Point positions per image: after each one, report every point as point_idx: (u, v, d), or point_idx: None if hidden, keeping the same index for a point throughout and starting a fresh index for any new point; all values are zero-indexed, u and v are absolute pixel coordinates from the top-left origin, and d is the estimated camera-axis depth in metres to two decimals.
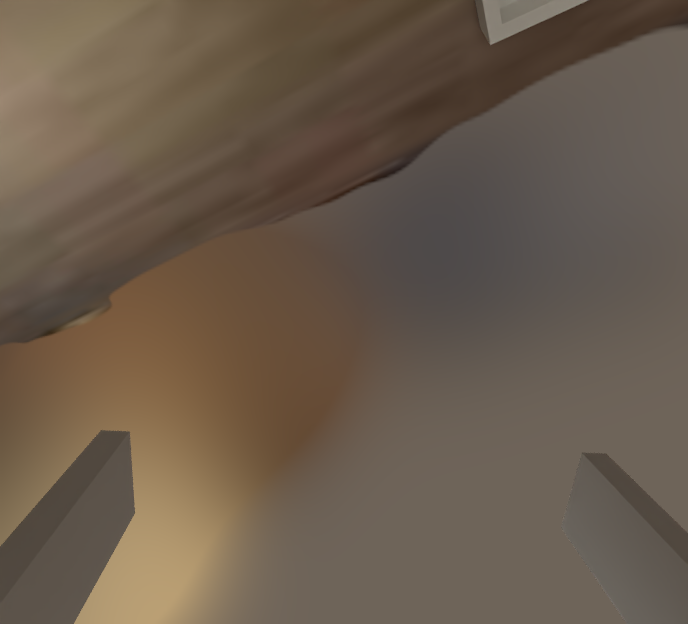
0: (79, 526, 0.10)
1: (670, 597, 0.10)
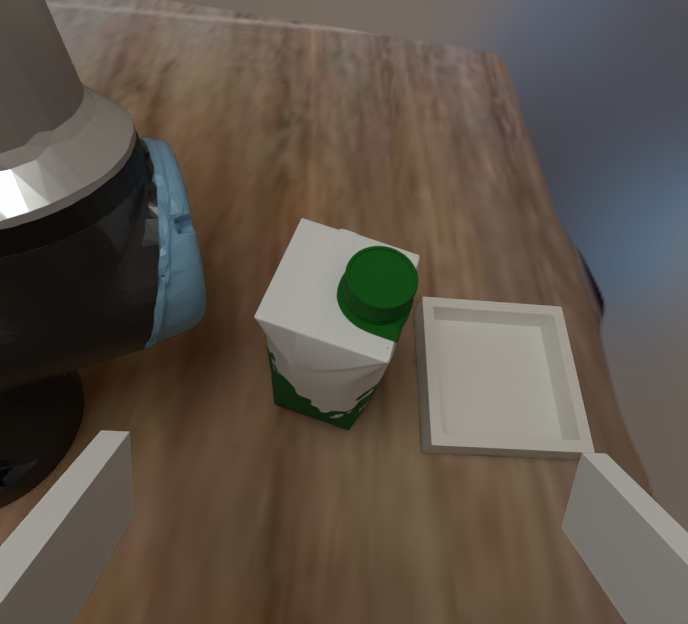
0: (79, 526, 0.10)
1: (670, 597, 0.10)
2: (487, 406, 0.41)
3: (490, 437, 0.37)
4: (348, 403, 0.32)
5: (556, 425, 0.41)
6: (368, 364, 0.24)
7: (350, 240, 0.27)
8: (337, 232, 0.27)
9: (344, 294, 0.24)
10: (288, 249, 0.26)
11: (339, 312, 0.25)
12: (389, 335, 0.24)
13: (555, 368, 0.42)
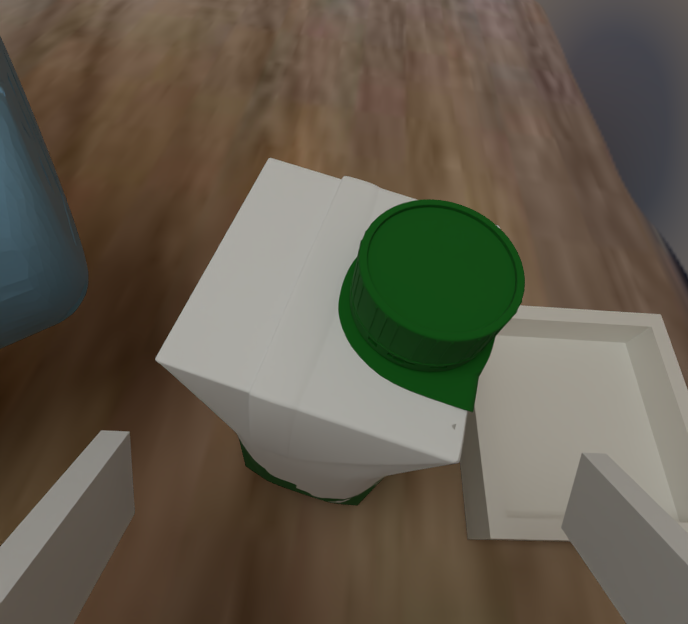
0: (79, 526, 0.10)
1: (670, 597, 0.10)
2: (561, 463, 0.28)
3: None
4: (360, 491, 0.18)
5: (666, 491, 0.28)
6: (410, 461, 0.11)
7: (364, 197, 0.14)
8: (338, 183, 0.14)
9: (355, 306, 0.11)
10: (240, 215, 0.13)
11: (344, 345, 0.11)
12: (457, 396, 0.11)
13: (658, 405, 0.29)
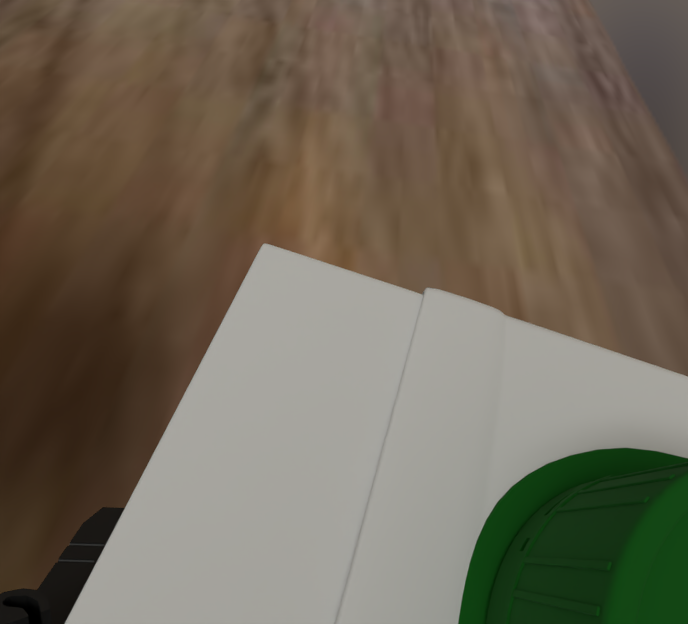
0: None
1: None
2: None
3: None
4: None
5: None
6: None
7: (478, 345, 0.06)
8: (415, 305, 0.06)
9: None
10: (189, 400, 0.05)
11: None
12: None
13: None
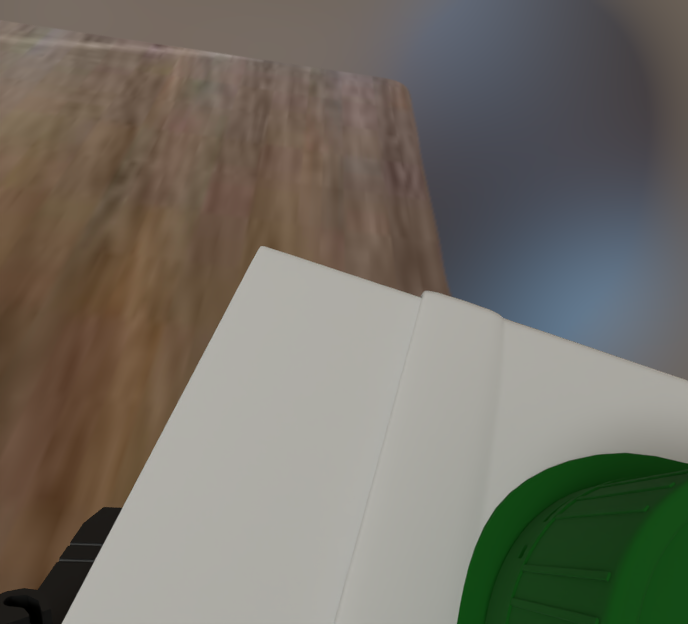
0: None
1: None
2: None
3: None
4: None
5: None
6: None
7: (477, 349, 0.06)
8: (413, 309, 0.06)
9: None
10: (185, 405, 0.05)
11: None
12: None
13: None
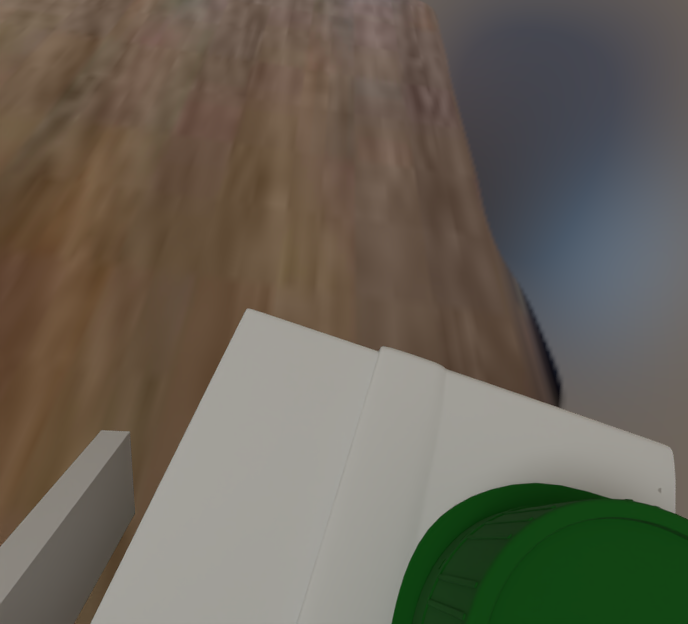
0: (79, 526, 0.10)
1: None
2: None
3: None
4: None
5: None
6: None
7: (421, 397, 0.07)
8: (372, 362, 0.08)
9: None
10: (185, 446, 0.07)
11: None
12: None
13: None
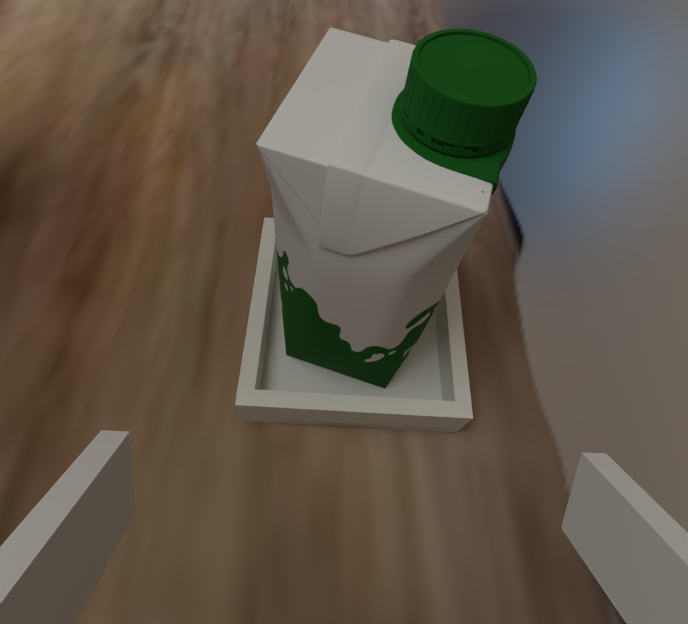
0: (79, 526, 0.10)
1: (670, 597, 0.10)
2: None
3: (323, 395, 0.26)
4: (395, 331, 0.22)
5: (436, 386, 0.30)
6: (449, 221, 0.14)
7: (407, 53, 0.17)
8: (386, 45, 0.18)
9: (407, 106, 0.14)
10: (311, 61, 0.17)
11: (397, 141, 0.15)
12: (484, 174, 0.14)
13: (440, 311, 0.31)
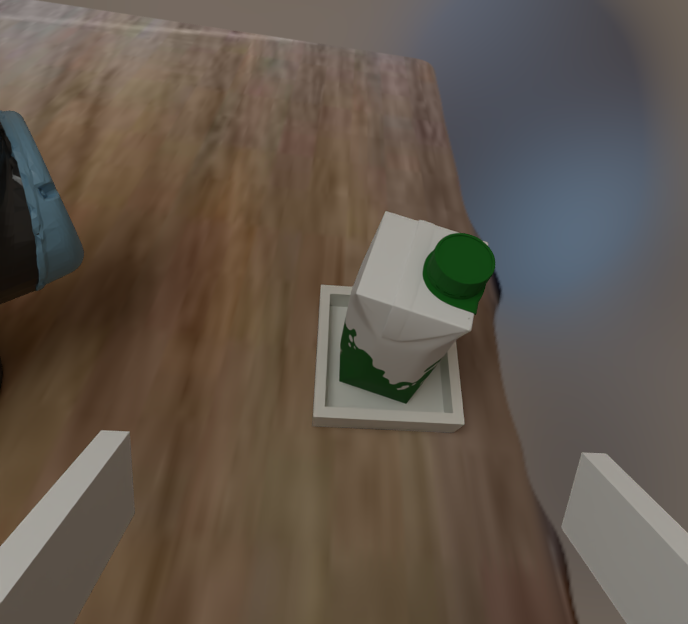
0: (79, 526, 0.10)
1: (670, 597, 0.10)
2: None
3: (368, 410, 0.41)
4: (418, 374, 0.36)
5: (440, 401, 0.45)
6: (452, 332, 0.29)
7: (429, 229, 0.32)
8: (417, 223, 0.32)
9: (431, 273, 0.29)
10: (377, 237, 0.31)
11: (426, 289, 0.29)
12: (469, 308, 0.29)
13: None
